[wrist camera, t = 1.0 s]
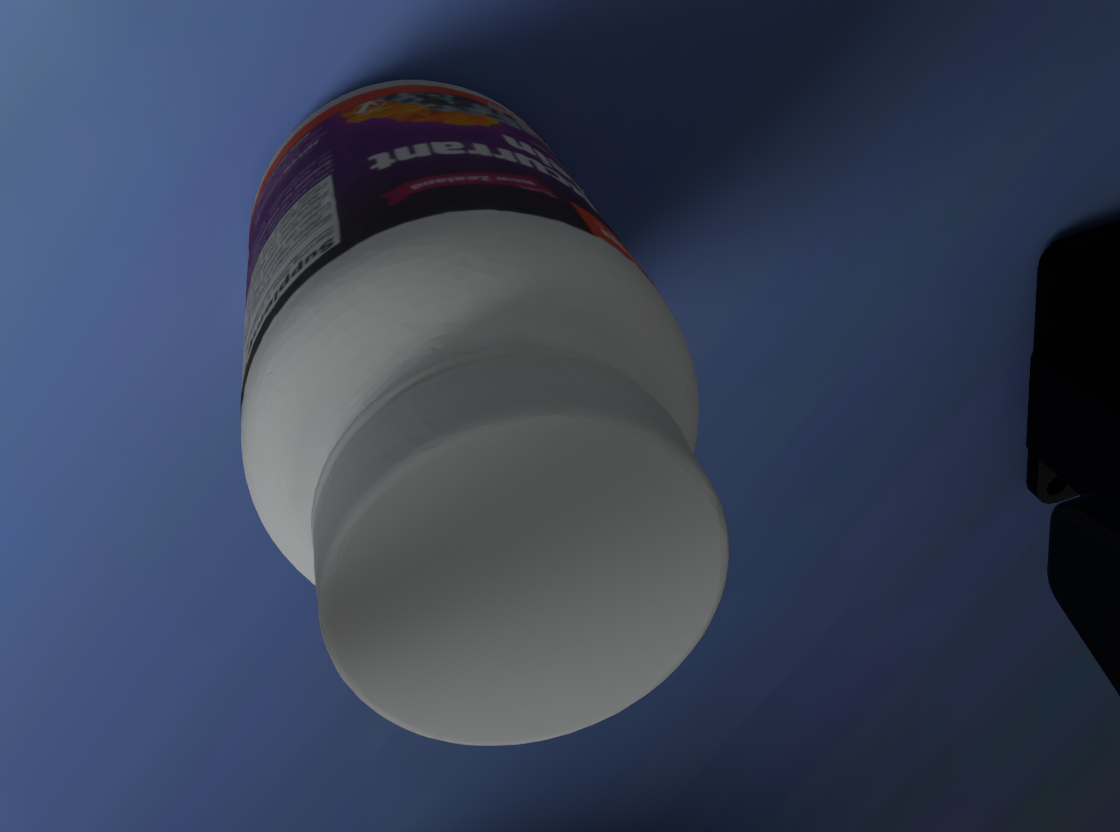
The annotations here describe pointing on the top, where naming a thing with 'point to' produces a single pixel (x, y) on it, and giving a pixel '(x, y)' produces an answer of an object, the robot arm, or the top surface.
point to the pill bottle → (471, 422)
